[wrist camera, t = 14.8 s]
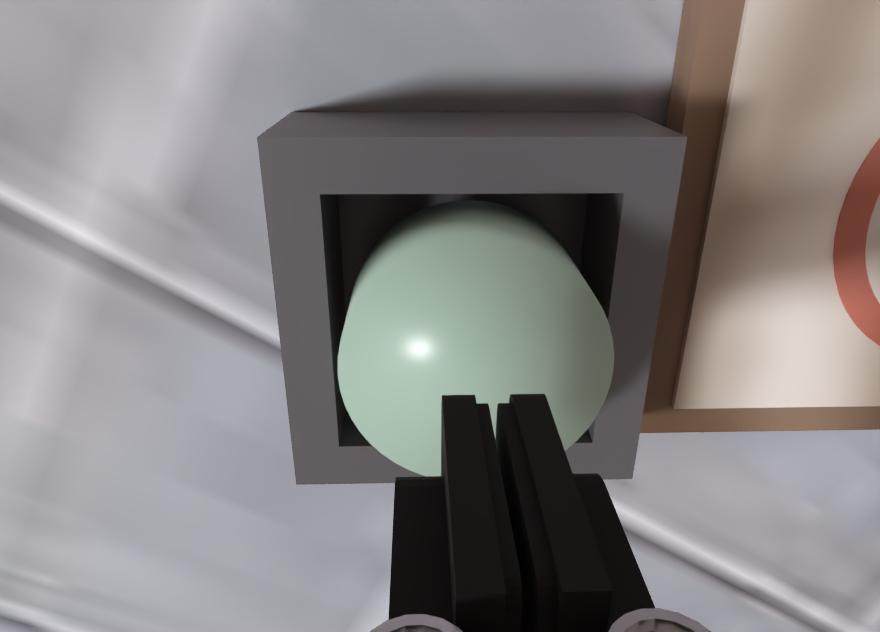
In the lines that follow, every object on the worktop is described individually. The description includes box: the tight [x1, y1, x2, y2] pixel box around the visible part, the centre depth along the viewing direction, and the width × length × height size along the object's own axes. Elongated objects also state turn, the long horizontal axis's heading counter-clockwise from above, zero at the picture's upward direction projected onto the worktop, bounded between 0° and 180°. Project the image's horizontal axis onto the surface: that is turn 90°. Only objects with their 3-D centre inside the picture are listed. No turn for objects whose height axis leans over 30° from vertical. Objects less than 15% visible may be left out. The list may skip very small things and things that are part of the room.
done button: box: [338, 200, 614, 476], centre depth 15 cm, size 6×6×3 cm
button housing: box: [257, 112, 687, 484], centre depth 17 cm, size 9×9×4 cm
